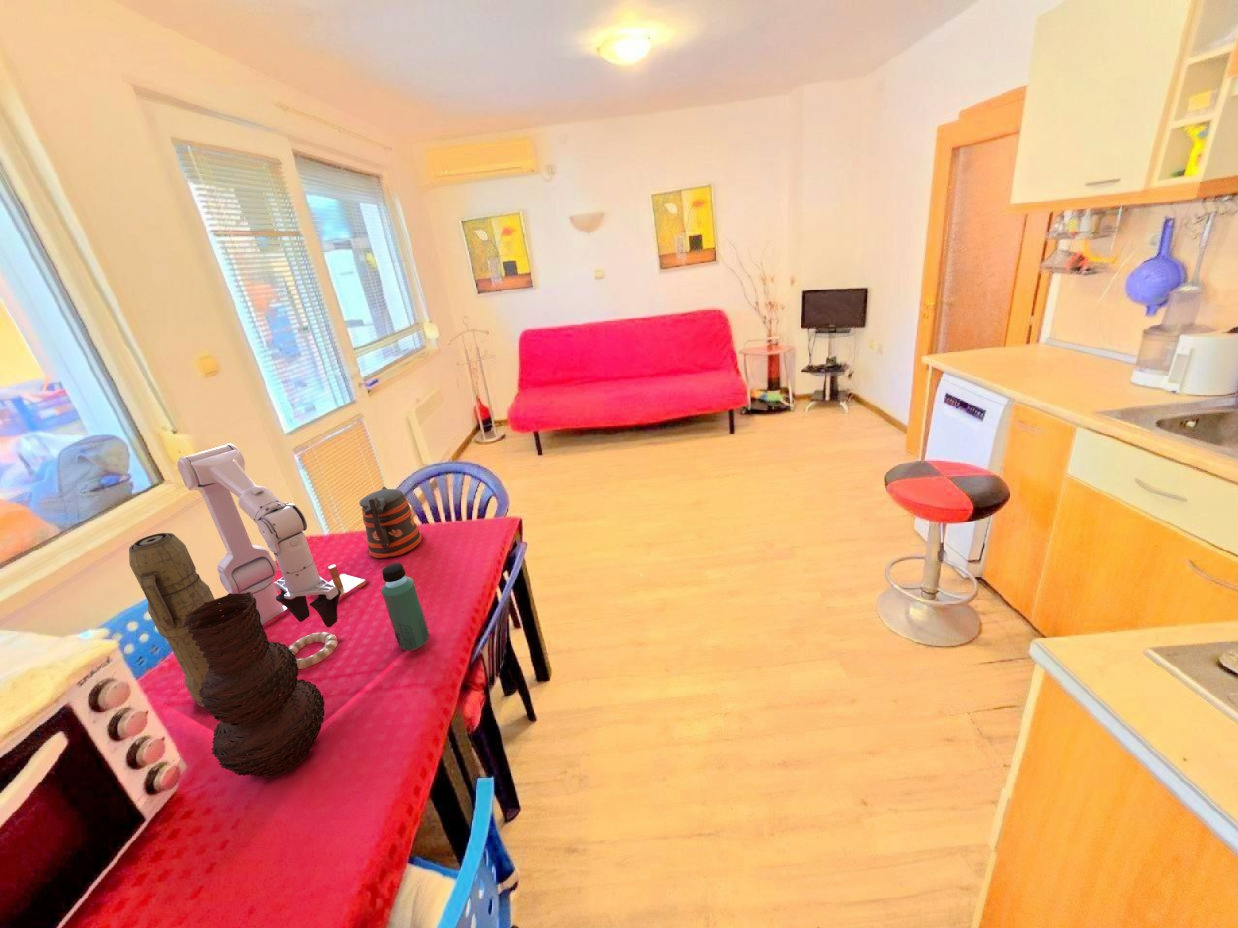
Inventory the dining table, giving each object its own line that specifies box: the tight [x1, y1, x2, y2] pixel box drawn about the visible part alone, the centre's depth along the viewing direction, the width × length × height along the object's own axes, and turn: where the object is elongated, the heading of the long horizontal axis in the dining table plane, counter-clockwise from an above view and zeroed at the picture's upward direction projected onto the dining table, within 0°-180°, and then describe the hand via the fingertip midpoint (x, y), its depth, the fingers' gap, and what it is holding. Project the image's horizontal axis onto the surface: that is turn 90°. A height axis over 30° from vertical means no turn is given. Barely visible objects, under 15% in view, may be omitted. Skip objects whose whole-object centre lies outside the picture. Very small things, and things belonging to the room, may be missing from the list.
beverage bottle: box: [381, 562, 430, 652], centre depth 104 cm, size 6×7×20 cm
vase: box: [180, 592, 326, 780], centre depth 80 cm, size 15×15×30 cm
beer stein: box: [359, 486, 422, 559], centre depth 144 cm, size 19×15×20 cm
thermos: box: [128, 532, 216, 708], centre depth 93 cm, size 9×12×35 cm
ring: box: [288, 631, 339, 670], centre depth 108 cm, size 10×10×2 cm
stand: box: [327, 564, 368, 598], centre depth 129 cm, size 9×9×7 cm
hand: (318, 621), depth 104 cm, fingers open, 7 cm apart
